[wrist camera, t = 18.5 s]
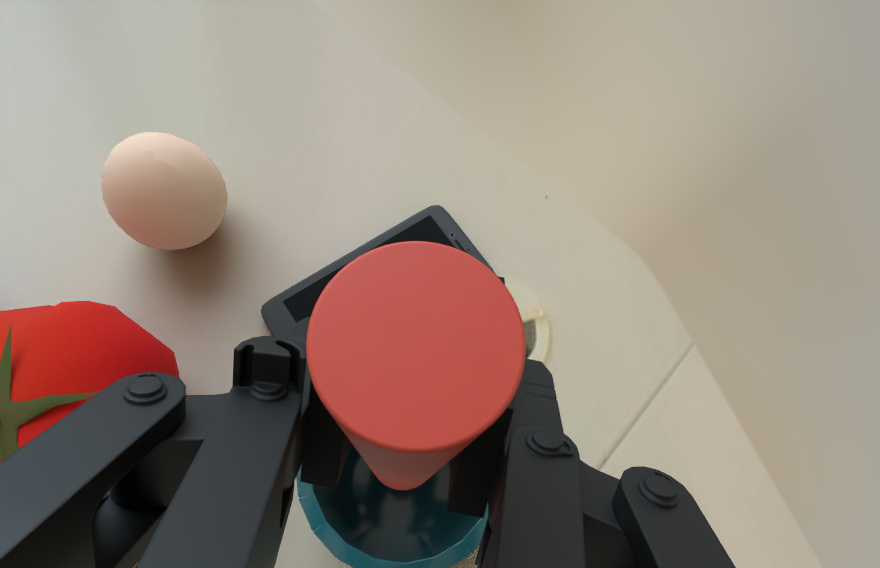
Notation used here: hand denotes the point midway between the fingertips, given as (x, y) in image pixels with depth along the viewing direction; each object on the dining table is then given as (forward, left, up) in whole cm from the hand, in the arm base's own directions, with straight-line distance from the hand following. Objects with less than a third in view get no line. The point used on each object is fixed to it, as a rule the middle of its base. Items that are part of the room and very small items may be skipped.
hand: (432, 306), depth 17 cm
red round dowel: (-1, +4, -5) cm, 6 cm away
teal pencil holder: (-1, +4, -18) cm, 19 cm away
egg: (+19, -4, -18) cm, 27 cm away
